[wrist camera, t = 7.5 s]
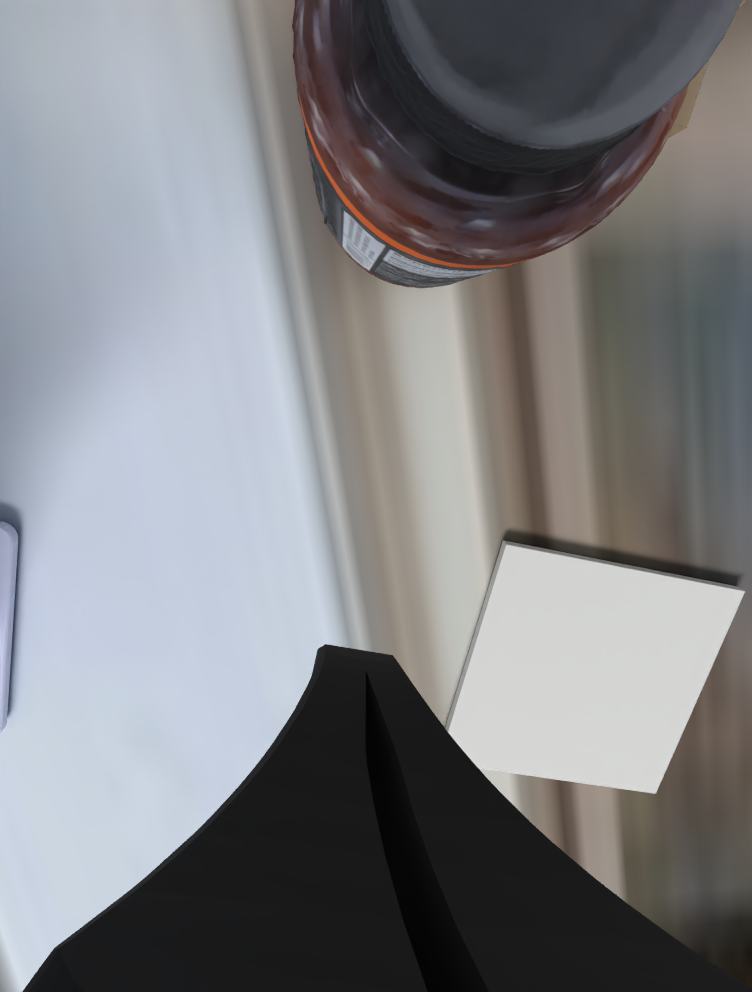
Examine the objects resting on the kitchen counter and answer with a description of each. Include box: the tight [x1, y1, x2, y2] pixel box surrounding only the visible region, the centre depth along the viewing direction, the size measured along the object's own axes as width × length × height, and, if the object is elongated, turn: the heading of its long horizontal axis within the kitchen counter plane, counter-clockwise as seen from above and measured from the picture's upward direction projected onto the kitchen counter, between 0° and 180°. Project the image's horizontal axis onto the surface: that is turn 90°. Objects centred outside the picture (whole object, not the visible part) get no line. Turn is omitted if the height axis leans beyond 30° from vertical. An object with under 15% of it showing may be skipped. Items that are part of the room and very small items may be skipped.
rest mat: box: [445, 540, 745, 794], centre depth 21 cm, size 9×9×1 cm
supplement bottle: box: [292, 0, 742, 288], centre depth 11 cm, size 6×6×11 cm
